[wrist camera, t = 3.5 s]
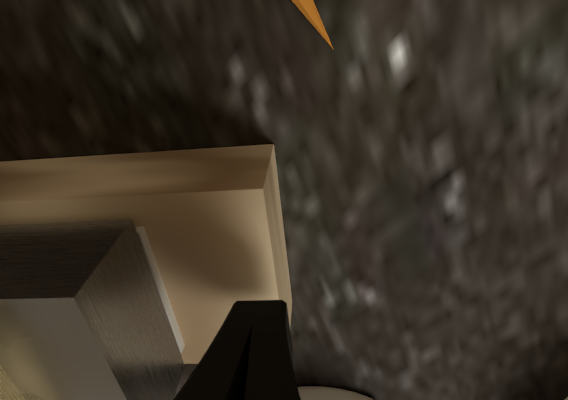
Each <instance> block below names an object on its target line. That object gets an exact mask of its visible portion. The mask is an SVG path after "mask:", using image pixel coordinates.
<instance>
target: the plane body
mask: <svg viewBox="0 0 568 400" xmlns="http://www.w3.org/2000/svg"><path fill="white" fill-rule="evenodd" d="M111 220H133V223H134V225H135V228H136V231H137V234H138V237H139V239H140V242H141V245H142V248H143V250H144V253H145V256H146V259H147V262H148V264H149V267H150V270H151V273H152V275H153V278H154V281H155V284H156V287H157V289H158V292H159V295H160V298H161V300H162V303H163V306H164V309H165V311H166V314H167V317H168V320H169V323H170V325H171V328H172V331H173V334H174V336H175V339H176V342H177V345H178V348H179V350H180V353H181V356H182V359H183V361H184V364H198V363H199V362H200V360H201V359H202V357H203V355H204V354H205V352H206V351H207V349H208V348H209V346H210V344H211V343H212V341H213V339H214V338H215V336H216V334H217V333H218V331H219V329H220V328H221V326H222V324H223V322H224V321H225V319H226V317H227V315H228V313H229V311H230V310H231V308H232V306H233V304H234V303H235V302H236V301H250V300H283V301H284V302H286V303H287V310H288V318H289V326H290V324H291V309H292V295H291V286H290V278H289V269H288V261H287V252H286V244H285V235H284V227H283V218H282V209H281V201H280V192H279V184H278V175H277V167H276V158H275V150H274V144H267V145H251V146H235V147H220V148H204V149H189V150H173V151H158V152H142V153H127V154H111V155H96V156H80V157H64V158H49V159H33V160H18V161H2V162H0V225H20V224H43V223H65V222H88V221H111Z"/></svg>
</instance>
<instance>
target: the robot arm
mask: <svg viewBox="0 0 568 400" xmlns="http://www.w3.org/2000/svg"><path fill="white" fill-rule="evenodd" d="M174 400H301V398H300V395H299V391H298V387H297V383H296V379H295V375H294V370H293V362H292V341H291V334H290V326H289V318H288V310H287V303H286V302H284V301H283V300H250V301H236V302H235V303H234V304H233V306H232V308H231V310H230V311H229V313H228V315H227V317H226V319H225V321H224V322H223V324H222V326H221V328H220V329H219V331H218V333H217V334H216V336H215V338H214V339H213V341H212V343H211V344H210V346H209V348H208V349H207V351H206V352H205V354H204V355H203V357H202V359H201V360H200V362H199V363H198V365H197V366H196V368H195V369H194V371H193V372H192V374H191V375H190V377H189V378H188V380H187V381H186V383H185V384H184V385H183V387H182V388H181V390H180V391H179V393H178V394H177V395H176V397H175V398H174Z"/></svg>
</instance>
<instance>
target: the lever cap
mask: <svg viewBox="0 0 568 400" xmlns="http://www.w3.org/2000/svg"><path fill="white" fill-rule="evenodd" d="M184 365H185V364H184V361H183V359H182V356H181V353H180V350H179V348H178V345H177V342H176V339H175V336H174V334H173V331H172V328H171V325H170V323H169V320H168V317H167V314H166V311H165V309H164V306H163V303H162V300H161V298H160V295H159V292H158V289H157V287H156V284H155V281H154V278H153V275H152V273H151V270H150V267H149V264H148V262H147V259H146V256H145V253H144V250H143V248H142V245H141V242H140V239H139V237H138V234H137V231H136V228H135V225H134V223H133V220H111V221H88V222H65V223H43V224H20V225H0V400H173V398H174V395H175V392H176V389H177V386H178V383H179V380H180V377H181V374H182V371H183V368H184Z"/></svg>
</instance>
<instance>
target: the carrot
mask: <svg viewBox="0 0 568 400" xmlns="http://www.w3.org/2000/svg"><path fill="white" fill-rule="evenodd" d="M292 2H293V3H294V4H295V5H296V6H297V7H298V9H299V10H300V11H301V12H302V13H303V14H304V16H305V17H306V18H307V19H308V20H309V21H310V23H311V24H312V25H313V26H314V27H315V28H316V30H317V31H318V32H319V33H320V34H321V35H322V37H323V38H324V39H325V40H326V41H327V43H328V44H329V45H330V46H331V47H332V45H331V42H330V40H329V37H328V35H327V33H326V30H325V28H324V25H323V23H322V21H321V18H320V16H319V13H318V11H317V8H316V6H315V4H314V1H313V0H292ZM332 48H333V47H332Z"/></svg>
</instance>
